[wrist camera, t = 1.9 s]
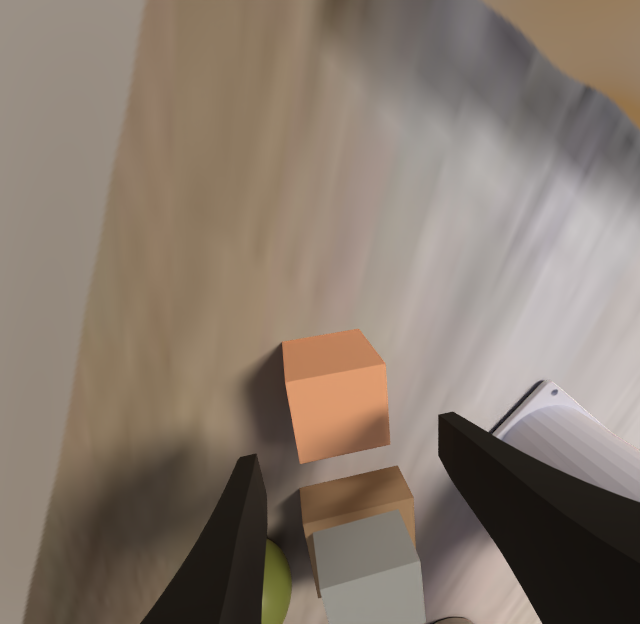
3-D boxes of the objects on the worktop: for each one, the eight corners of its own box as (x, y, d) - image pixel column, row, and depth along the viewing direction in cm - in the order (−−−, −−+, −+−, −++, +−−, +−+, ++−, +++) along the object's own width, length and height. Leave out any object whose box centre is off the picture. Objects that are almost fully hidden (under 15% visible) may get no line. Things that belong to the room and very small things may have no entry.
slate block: (398, 509, 19) (420, 560, 16) (405, 566, 21) (426, 622, 18) (312, 532, 18) (319, 589, 16) (327, 589, 20) (336, 650, 17)
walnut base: (395, 460, 22) (413, 497, 19) (399, 529, 24) (416, 571, 21) (298, 482, 21) (302, 524, 18) (312, 551, 23) (318, 598, 20)
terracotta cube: (358, 328, 18) (385, 363, 13) (364, 393, 19) (390, 444, 15) (281, 341, 17) (285, 382, 13) (293, 407, 19) (300, 464, 14)
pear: (309, 639, 17) (224, 699, 20) (307, 534, 21) (238, 596, 25) (217, 619, 15) (140, 688, 18) (237, 510, 20) (173, 580, 23)
